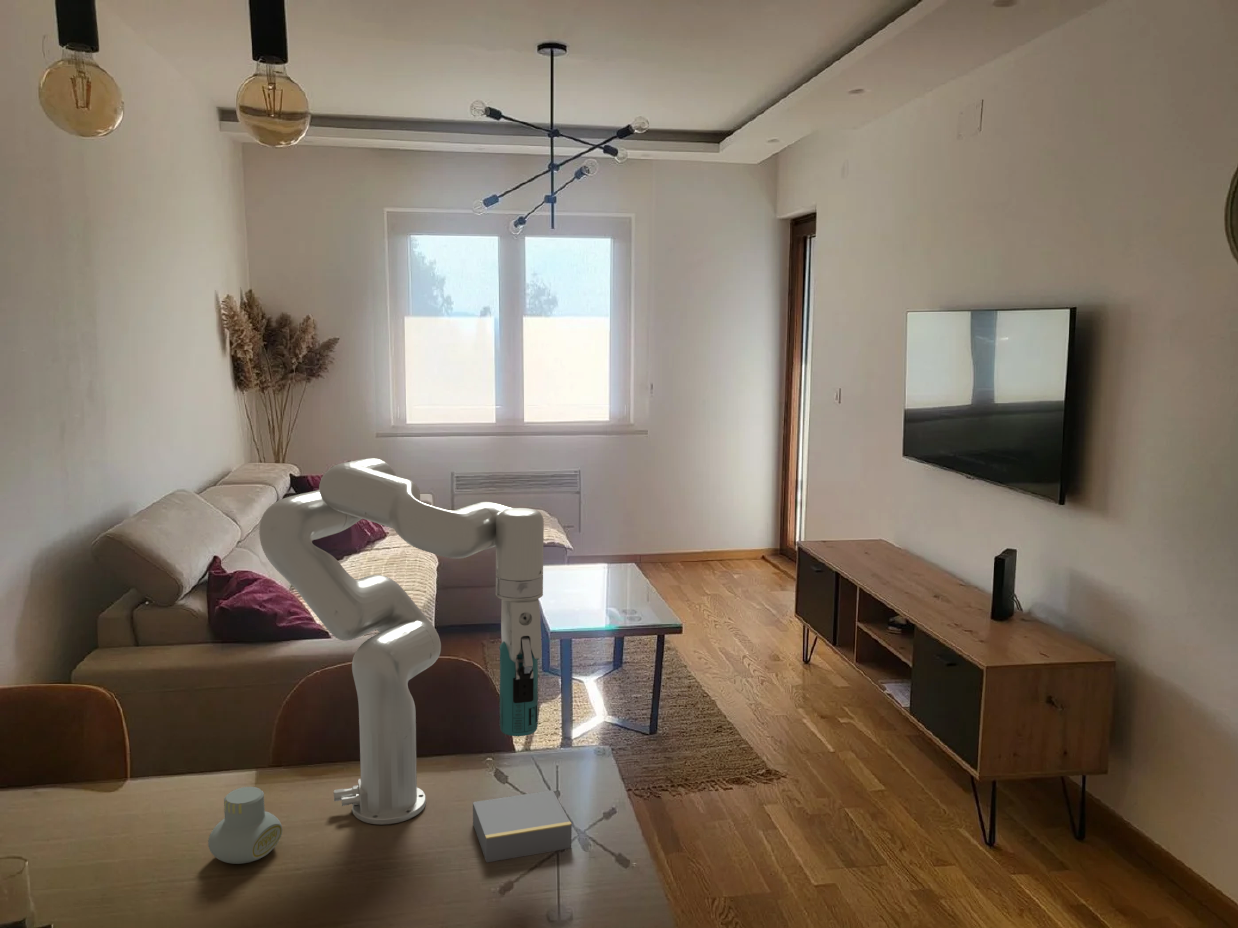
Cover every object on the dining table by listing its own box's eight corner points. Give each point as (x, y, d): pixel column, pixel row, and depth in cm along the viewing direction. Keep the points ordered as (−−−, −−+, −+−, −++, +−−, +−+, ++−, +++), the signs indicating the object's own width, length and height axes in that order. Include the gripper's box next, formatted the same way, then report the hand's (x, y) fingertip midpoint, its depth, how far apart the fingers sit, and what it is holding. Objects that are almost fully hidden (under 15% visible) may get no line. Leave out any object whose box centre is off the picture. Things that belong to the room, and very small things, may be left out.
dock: (486, 862, 145) (486, 837, 144) (473, 823, 156) (472, 800, 156) (571, 847, 150) (571, 823, 149) (552, 811, 161) (552, 788, 160)
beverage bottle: (531, 747, 146) (532, 627, 143) (492, 742, 147) (492, 623, 144) (543, 730, 152) (545, 614, 149) (505, 725, 154) (506, 611, 151)
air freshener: (243, 877, 140) (241, 816, 139) (200, 866, 143) (197, 806, 141) (290, 840, 150) (288, 783, 149) (249, 831, 153) (246, 774, 151)
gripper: (555, 599, 139) (553, 711, 142) (530, 570, 155) (529, 671, 158) (506, 603, 137) (505, 717, 139) (486, 573, 153) (486, 675, 156)
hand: (518, 691), depth 149 cm, fingers closed on beverage bottle, 6 cm apart
